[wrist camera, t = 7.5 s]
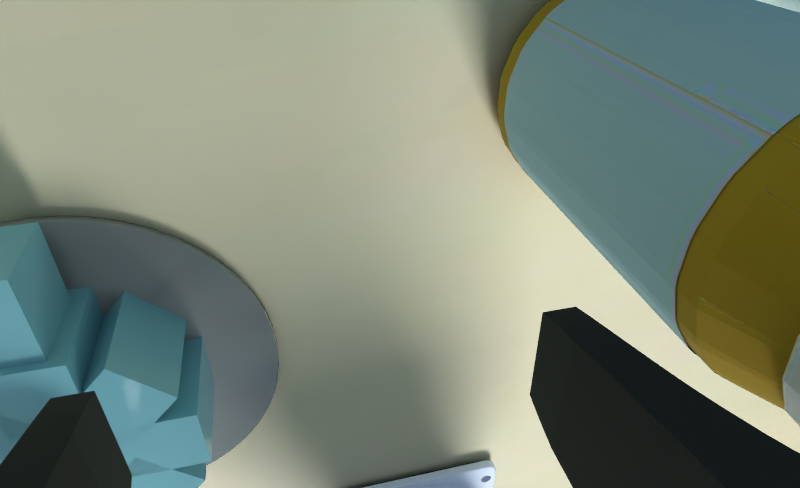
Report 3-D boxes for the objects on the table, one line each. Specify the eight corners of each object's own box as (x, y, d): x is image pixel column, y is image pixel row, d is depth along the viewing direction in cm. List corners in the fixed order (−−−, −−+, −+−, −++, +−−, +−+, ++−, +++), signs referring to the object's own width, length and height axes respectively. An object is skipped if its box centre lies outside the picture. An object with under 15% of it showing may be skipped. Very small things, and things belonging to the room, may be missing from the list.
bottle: (447, 113, 19) (846, 589, 7) (598, -89, 16) (1633, 73, 4) (582, 206, 22) (1007, 631, 10) (723, 49, 20) (1492, 354, 8)
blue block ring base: (296, 449, 26) (305, 534, 23) (-28, 514, 24) (-70, 620, 20) (247, 183, 18) (250, 252, 15) (-232, 240, 16) (-350, 336, 13)
